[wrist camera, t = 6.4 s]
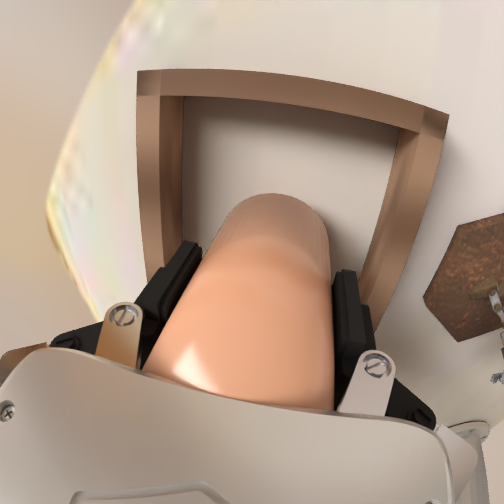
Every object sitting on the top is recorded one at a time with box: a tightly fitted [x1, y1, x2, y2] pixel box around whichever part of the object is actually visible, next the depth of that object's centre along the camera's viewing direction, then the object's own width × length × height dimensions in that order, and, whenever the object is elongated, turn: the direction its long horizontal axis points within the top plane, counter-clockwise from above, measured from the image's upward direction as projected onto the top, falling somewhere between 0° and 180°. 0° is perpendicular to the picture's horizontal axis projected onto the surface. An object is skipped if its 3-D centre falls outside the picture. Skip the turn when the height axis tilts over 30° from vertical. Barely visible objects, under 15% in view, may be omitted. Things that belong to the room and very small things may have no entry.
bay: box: [136, 69, 449, 333], centre depth 15 cm, size 12×13×3 cm
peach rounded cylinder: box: [142, 193, 334, 411], centre depth 11 cm, size 6×8×11 cm
